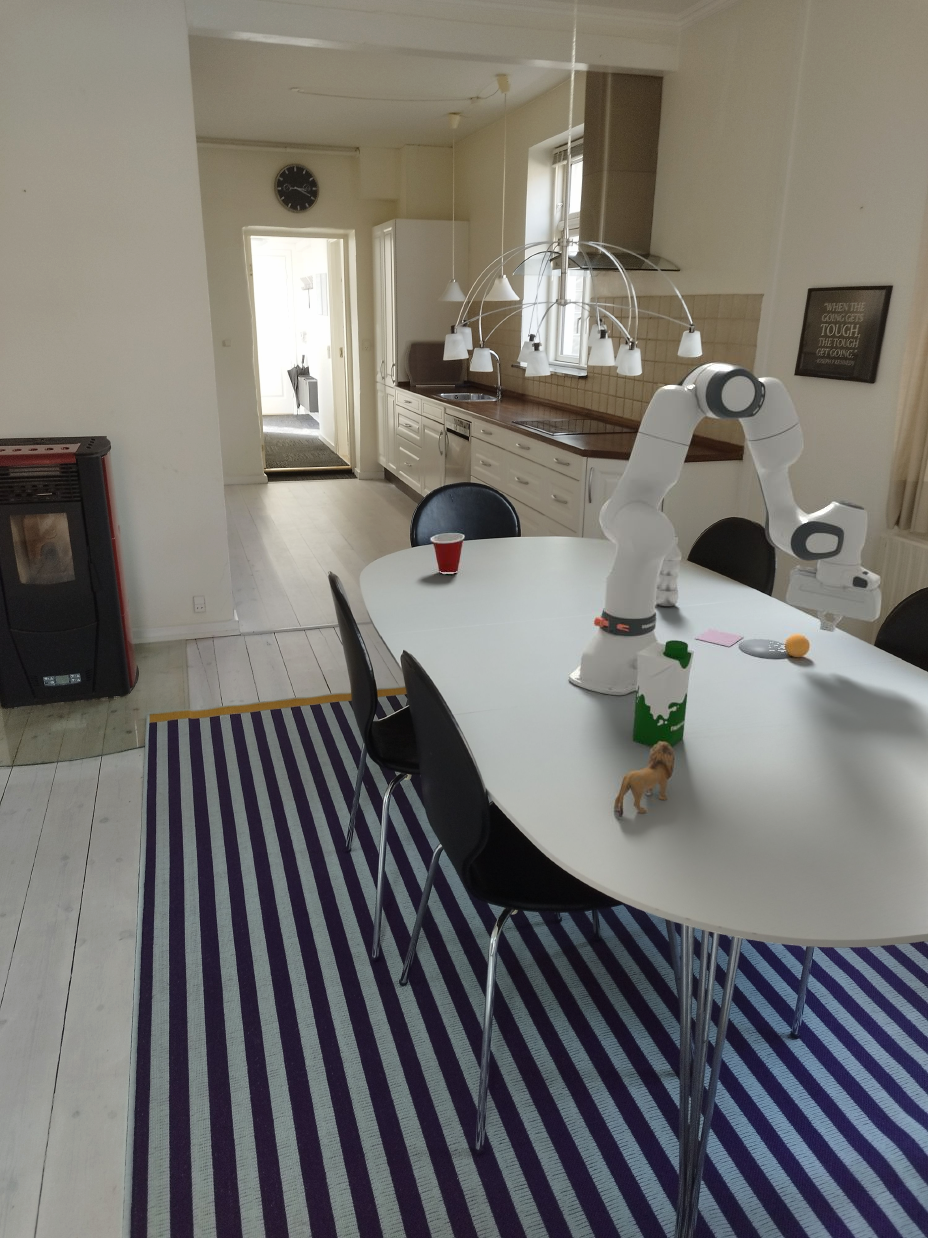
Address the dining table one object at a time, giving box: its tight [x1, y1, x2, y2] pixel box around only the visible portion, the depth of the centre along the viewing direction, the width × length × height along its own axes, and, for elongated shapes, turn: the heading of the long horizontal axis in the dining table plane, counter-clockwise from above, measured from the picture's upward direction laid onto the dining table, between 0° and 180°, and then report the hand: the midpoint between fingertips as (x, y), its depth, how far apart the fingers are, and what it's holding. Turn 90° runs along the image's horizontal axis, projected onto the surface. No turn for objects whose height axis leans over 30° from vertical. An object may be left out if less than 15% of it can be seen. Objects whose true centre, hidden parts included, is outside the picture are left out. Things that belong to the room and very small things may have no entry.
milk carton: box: [632, 639, 695, 748], centre depth 160 cm, size 9×9×20 cm
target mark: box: [738, 638, 792, 660], centre depth 209 cm, size 13×13×1 cm
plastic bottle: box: [655, 534, 682, 607], centre depth 238 cm, size 6×7×20 cm
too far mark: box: [694, 628, 744, 648], centre depth 216 cm, size 9×9×1 cm
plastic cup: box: [430, 532, 465, 572], centre depth 271 cm, size 11×11×12 cm
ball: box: [784, 633, 811, 658], centre depth 204 cm, size 6×6×6 cm
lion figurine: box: [613, 741, 675, 818], centre depth 140 cm, size 15×5×9 cm, turn 139°
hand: (827, 630), depth 198 cm, fingers closed
